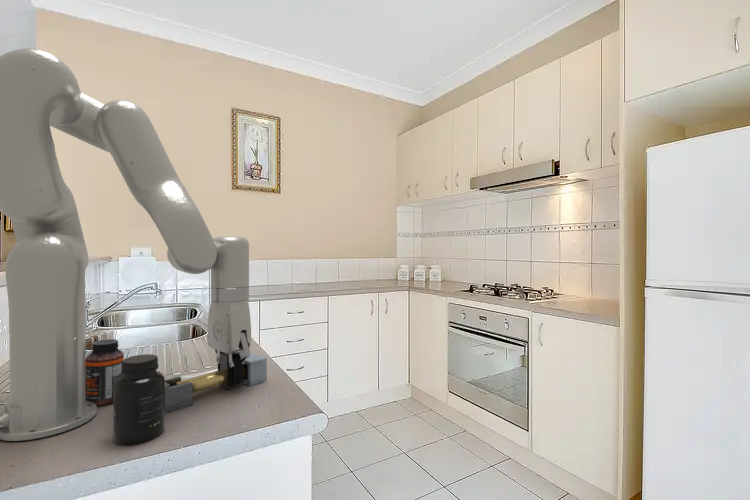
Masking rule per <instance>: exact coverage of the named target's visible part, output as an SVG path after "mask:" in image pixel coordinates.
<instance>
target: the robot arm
mask: <svg viewBox="0 0 750 500" xmlns="http://www.w3.org/2000/svg"><path fill="white" fill-rule="evenodd" d="M51 127H52V128H54V129H56V130H58V131H61V132H63V133H65V134H68V135H70V136H72V137H74V138H76V139H78V140H80V141H82V142H85V144H86V143H87V144H88V145H91V146H93V147H96V148H98V149H100V150H102V151H104V152H107V153H110V155H111V157H112V159H113V161H114V163H115V164H116V167H117V168H118V170H119V172H120V174H121V176H122V178H123V180H124V182H125V184H126V185H127V187H128V190H129V192H130V193H131V194H132V196H133V197H134V200H136V202H137V203H138V204H139V205H140V206H141V207H142V208H143V209H144V210H145V212H147V214H148V215H149V217H150V218H151V220H152V221H153V222H154V225H156V226H155V227H156V228H157V230H158V232H159V234H160V235H161V237H162V238H163V241H164V242H165V245H166V247H167V251H166V257H167V261H168V262H169V263H170V265H171V266H172V267H173V268H174V269H175V270H177V271H180V272H183V273H186V274H190V275H199V274H203V273H206V272H207V271H209V270H210V305H209V310H208V318H207V319H208V320H207V333H206V335H207V337H206V338H207V339H206V341H207V346H208V347H209V348H210V349H213V350H214V352H215V354H216V363H217V371H220V353H227V354H229V367H227V385H228V386H229V387H231V386H234V385H237V384H240V383H241V384H243V383H242V382H243V364H244V360H245V359H246V358H247V357H249V356H250V353H251V350H250V348H251V346H252V323H251V319H252V318H251V310H250V303H249V302H250V243H249V241H248V239H247V238H245V237H243V236H242V237H241V236H217V237H214V238H213V237H212V236H213V235H212V233H211V231H210V230H209V228H208V225H207V224H206V222H205V219H204V218H203V216H202V214H201V212H200V210H199V208H198V207H197V205H196V203H195V202H194V200H193V199H192V197H191V196H190V194H189V193H188V191H187V189H186V187H185V185H184V184H183V182H182V180H180V178H179V176H178V174H177V171H176V169H175V167H174V166H173V163H172V161H171V160H170V158H169V156H168V154H167V151H166V149H165V147H164V145H163V143H162V142H161V139H160V137H159V135H158V133H157V130H156V129H155V126H154V124H152V121H151V119H150V117H149V116H148V115H147V113H146V112H145V111H144V109H143V108H141V106H139V105H137V104H136V103H135V102H132V101H129V100H125V99H124V100H123V99H118V100H115V99H114V100H111V101H109V102H106V103H105V104H104V103H102V102H101V101H98V100H97V99H95V98H93V97H91V96H89V95H86V94H85V93H83V92H81V89H80V86H79V82H78V80H77V78H76V76H75V74H74V73H73V71H72V70H71V69H70V67H69V66H68V65H67V64H66V63H65V62H64V61H63V60H62V59H60V58H59V57H57V56H55V55H54V54H52V53H50V52H48V51H45V50H41V49H37V48H32V47H31V48H19V49H15V50H10V51H8V52H5V53H3V54H1V55H0V212H1V213H2V214H3V215H4V216H6V217H7V218H8V219H10V222H11V226H12V230H13V233H14V237H15V240H16V244H14V245H13V246H12V248H11V249H10V251H9V253H8V255H7V258H6V262H5V273H4V274H5V282H6V283H5V284H6V291H7V292H6V293H7V301H8V334H9V399H6V400H4V401H3V403H4V404H3V405H2V406H0V440H1V441H7V442H8V441H9V442H19V441H20V442H22V441H23V442H24V441H30V440H36V439H43V438H47V437H51V436H53V435H54V436H55V435H58V434H61V433H64V432H67V431H69V430H73V429H75V428H77V427H80V426H82V425H83V424H85V423H87V422H89V421H90V420H92V419H93V418H94V417H95V416H96V414H97V412H98V411H97V410H98V406H96V404H95V403H93V402H90V401H86V357H87V355H86V353H87V352H86V351H87V348H86V347H87V345H86V344H87V343H86V341H87V340H86V337H87V336H86V333H87V331H86V330H87V329H86V326H87V325H86V269H87V267H88V266H89V265H88V264H89V253H88V250H87V249H88V248H87V245H86V241H85V238H84V233H83V229H82V224H81V222H80V221H81V220H80V217H79V213H78V208H77V205H76V200H75V198H74V194H73V193H72V191H71V189H70V188H69V187H68V185H67V183H66V182H65V180H64V177H63V174H62V172H61V169H60V166H59V162H58V161H59V160H58V157H57V153H56V147H55V142H54V138H53V135H52V130H51ZM238 353H239V355H236V357H235V358H234V354H238Z"/></svg>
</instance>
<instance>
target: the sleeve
mask: <svg viewBox="0 0 750 500" xmlns="http://www.w3.org/2000/svg"><path fill="white" fill-rule="evenodd" d="M180 381H182V377H181V376H179V375H178V376H174V377H170V378H167V379H166V378H165V414H168V413H170V412H174V411H176V410H178V411H179V410H180V409H184V408H186V407H189V406H192V405H194V400H193V393H192V382H186V383H183V384H179V385H175V383H176V382H180ZM174 385H175V386H174Z"/></svg>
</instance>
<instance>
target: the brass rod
mask: <svg viewBox="0 0 750 500" xmlns="http://www.w3.org/2000/svg"><path fill="white" fill-rule="evenodd" d="M236 355H239V353H238V354H234V358H235V357H236ZM219 363H220V371H218V370H217V371H214V372H210V373H206V374H203V375H199V376H195V377H193V378H187V379H184V380H181V381H180V382H176V383H175V385H179V384H183V383H186V382H192V394H195V393H198V392H201V391H204V390H205V391H206V390H208V389H212V388H215V387H218V386H219V387H220V388H222V389H224V390H226V391H230V390H232V389H236V388H238V387H241V384H242V383H240V384H237V385H234V386H231V387H229V386H228V385H227V367H229V354H227V353H220V362H219ZM246 377H248V365H247V364H243V378H246ZM175 385H174V386H175Z"/></svg>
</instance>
